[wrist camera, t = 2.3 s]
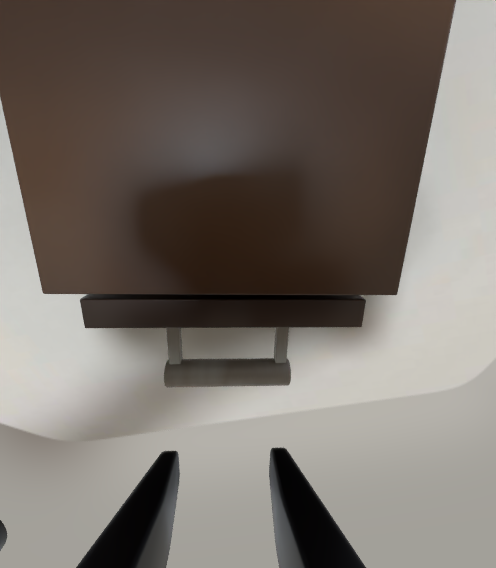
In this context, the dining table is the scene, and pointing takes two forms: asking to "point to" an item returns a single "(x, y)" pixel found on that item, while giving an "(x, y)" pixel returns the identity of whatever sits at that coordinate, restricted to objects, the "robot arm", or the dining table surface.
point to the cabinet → (220, 140)
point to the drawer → (222, 314)
